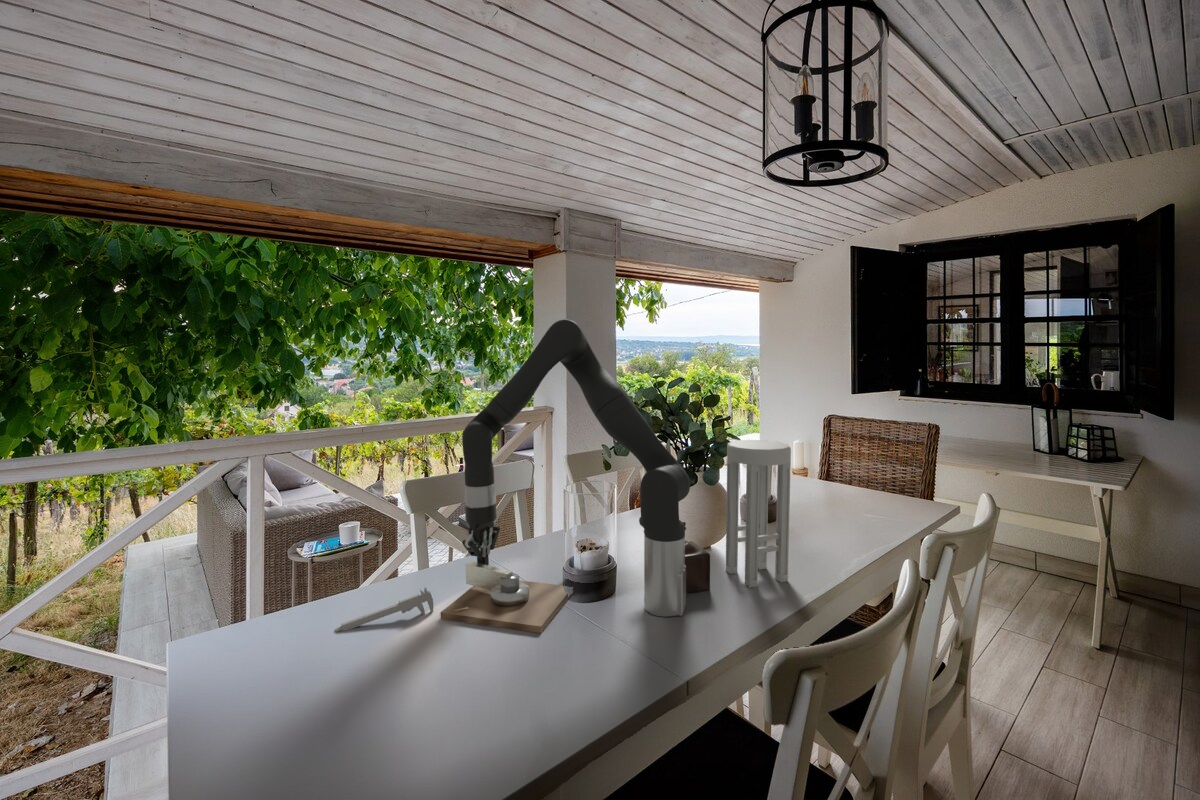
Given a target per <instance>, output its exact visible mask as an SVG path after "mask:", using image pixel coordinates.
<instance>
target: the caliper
mask: <svg viewBox="0 0 1200 800" xmlns="http://www.w3.org/2000/svg"><path fill="white" fill-rule="evenodd" d="M423 589H424V590H423ZM423 589H421V588H419V591H420V593H418V594H415V595H412V596H410V597H407V598H403V599H401V600H399V601H398V603H396V604H392V605H390V606H387V607H384V608H382V609H378V610H375V611H374V612H373V611H372V612H370V613H368V614H364V615H361V616H359V617H356V618H354V619H350V620H348V621H344V622H343V623H340V626H338V627H336V628H335V629H334V632H335V633H338V632H339V631H348V630H352V629H355V628H357V627H360V626H362V625H366V624H368V623H370V622H373V621H376V620H378V619H381V618H384V617H386V616H389V615H390V616H391V615H392V614H395V613H398V612H401V614H405V613H406V612H410V611H411V610H413V609H414V608H416V607H417V609H418V611H420V613H421V614H422V615H423V616H425V615H426V612H425V608H424V605H423V603H425V602H427V605H428V609H429V610H430V613H431V614H432V613H433V612H434V599H433V596H432V593H431V590H427V587H426V586H425V587H424V588H423Z"/></svg>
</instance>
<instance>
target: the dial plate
mask: <svg viewBox="0 0 1200 800" xmlns="http://www.w3.org/2000/svg"><path fill="white" fill-rule="evenodd" d="M519 582H522V583H525V584H527V585H528V586H529V594H530V597H529V599H528V600H527V601H526V602H524V603H522V604H519V605H515V606H499V605H496V604H494V603H492V602H491V594H490V590H487V589H484V588H480V587H476V586H473V585H472V586H471V587H470V588H469V589H468V590H466V591H465V592H464V593H463V594H462V595H460V596H459V597H458V598H456V599H455V600H453V602H451V603H450V604H449V605H448V606H446V607H445V608H444V609H443V610H442V611H440V613H439V614H440V620H445V621H452V622H459V623H465V624H473V625H480V626H486V627H487V626H488V627H494V628H501V629H509V630H516V631H523V632H529V633H530V632H531V633H536V634H542V633H543V631H545V629H546V628H547V626H548V625H549V624H550V622H551V621H553V619H554V618H555V617H556V615H557V614H558V613H559V611H560V610H561V608H562V607H564V605H565V603H566V602H567V601H568V600H569V599H568V593H566V592H565V591H564V588H563V584H562V585H561V584H554V583H553V584H552V583H544V582H538V581H537V582H536V581H527V580H520V579H519Z"/></svg>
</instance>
